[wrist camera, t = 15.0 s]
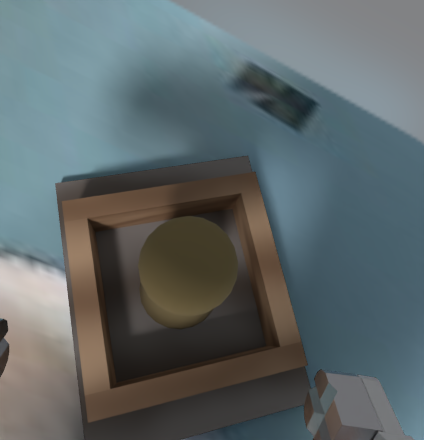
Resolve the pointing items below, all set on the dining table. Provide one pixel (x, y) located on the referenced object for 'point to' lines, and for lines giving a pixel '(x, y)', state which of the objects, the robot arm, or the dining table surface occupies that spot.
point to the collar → (169, 337)
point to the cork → (186, 271)
